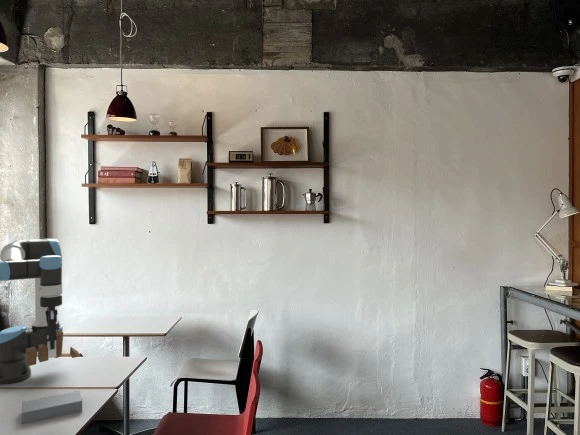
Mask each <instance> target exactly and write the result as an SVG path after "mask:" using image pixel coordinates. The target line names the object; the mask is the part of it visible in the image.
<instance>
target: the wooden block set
mask: <svg viewBox="0 0 580 435" xmlns="http://www.w3.org/2000/svg"><path fill="white" fill-rule="evenodd" d="M56 337H57V339H56V357H53V358H54V359H57V358H58V359H59V358H60V357H61V356H62V354H63V341H64V331H61V330H56ZM69 354H70V356H71V358H72V359H74V358H78V357H81V355H80V352H79V351H78V350H77V349H75V348H73V347H72V346H70V348H69ZM53 358H52V359H53ZM49 359H50V358H48V347H47V346H46V345H44V344H40V345H38V352H37V350H36V348H35V347H31V348H27V349H26V358H25V362H26V365H27V366H30V367H32V366H34V365H37V361H39V363H43V362H48V361H49Z"/></svg>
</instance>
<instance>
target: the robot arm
mask: <svg viewBox="0 0 580 435" xmlns="http://www.w3.org/2000/svg"><path fill="white" fill-rule="evenodd" d="M30 279H31V280H32V279H33V280H34V295H35V298H34V299H35V300H34V304H35V305H34V306H35V307H34V308H35V310H34V312H35V314H34V315H35V318H34V321H33V322H32V324H31V327H29V328H28V327H27V326H26V325H25V324H24V325H23V324H22V325H16V326H10V327H7V328H5V329H3V330H1V331H0V385H7V384H8V385H9V384H15V383H19V382H21V381H24V380H27V379H29V378H30V377H31V376H32V369H31V366H27V365H26V362H25V358H26V349H27V348H31V347H35V348H36V350H37V353H38V345H40V344H44V345H46V346H47V347H48V358H49V359H53V357H56V339H57V337H56V330H61V331H62V332H64V331H63V329H64V328H63V327H64V325H63V324H62V323H60V321H59V320H58V309H57V308H56V307H60V306H62V305H63V295H62V294H63V282H62V281H63V255H62V249H61V244H60V241H59V240H58V239H56V238H37V239H33V238H32V239H31V238H30V239H18V240H15V241H13V242H10V243H8V244H5V246H4V247H2V249H1V251H0V282H1V281H2V282H3V281H4V282H7V281H16V280H17V281H18V280H30Z"/></svg>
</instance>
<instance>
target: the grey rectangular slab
mask: <svg viewBox="0 0 580 435" xmlns="http://www.w3.org/2000/svg"><path fill="white" fill-rule="evenodd" d="M21 404H22V405H21V407H22V408H21V424H28V423H32V421H33V422H36V421H41V420H45V419H51V418H55V417H59V416H65V415H68V414H69V415H70V414H73V413H74V414H75V413H78V412H83V398H82V395H81V391H80V390H77V391H76V390H75V391H71V392H66V393H61V394H57V395H56V394H54V395H51V396H46V397H40V398H35V399H30V400H25V401H22V403H21Z"/></svg>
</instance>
